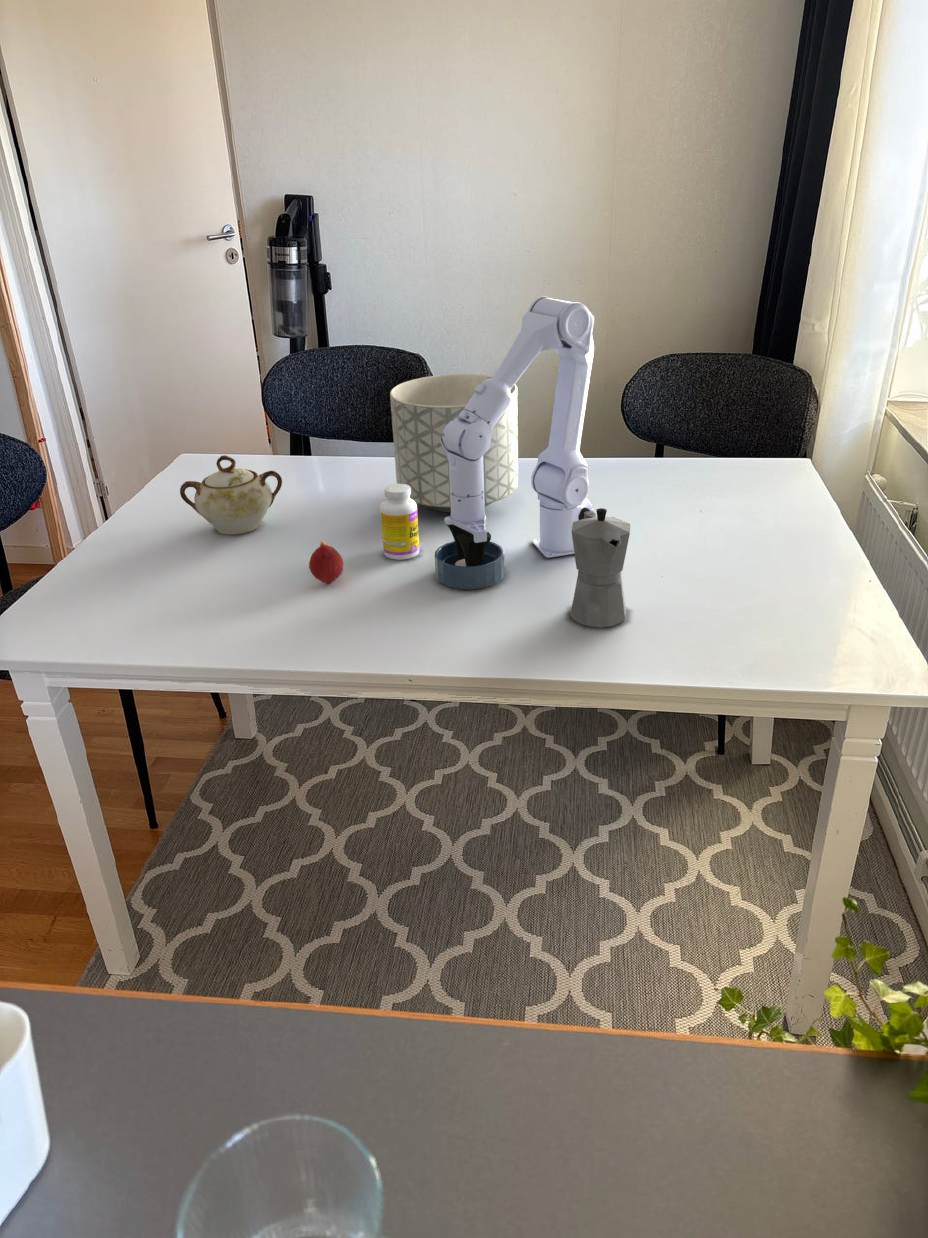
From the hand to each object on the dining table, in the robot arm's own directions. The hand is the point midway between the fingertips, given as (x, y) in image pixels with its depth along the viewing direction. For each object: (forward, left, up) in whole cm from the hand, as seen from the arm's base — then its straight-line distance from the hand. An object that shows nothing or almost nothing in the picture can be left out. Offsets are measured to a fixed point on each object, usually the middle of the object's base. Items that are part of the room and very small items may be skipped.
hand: (469, 565), depth 164 cm
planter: (-8, -35, -2) cm, 36 cm away
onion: (+24, -6, -2) cm, 25 cm away
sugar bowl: (+37, -39, -2) cm, 54 cm away
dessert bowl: (0, 0, -2) cm, 2 cm away
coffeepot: (-15, +20, -2) cm, 25 cm away
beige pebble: (0, 0, -2) cm, 2 cm away
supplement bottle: (+9, -14, -2) cm, 17 cm away
